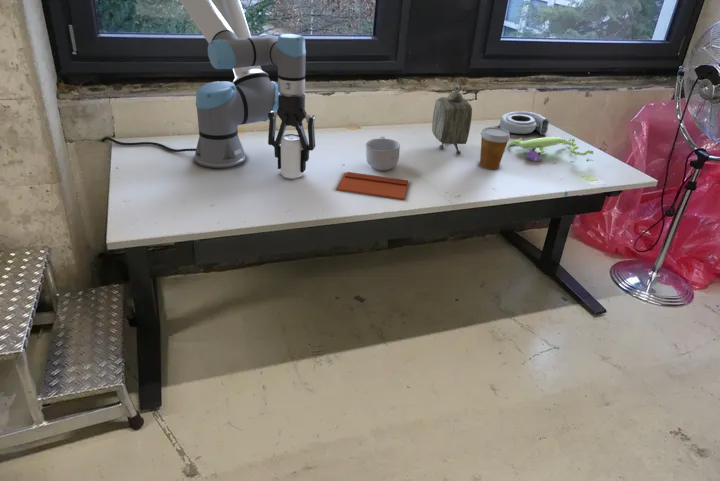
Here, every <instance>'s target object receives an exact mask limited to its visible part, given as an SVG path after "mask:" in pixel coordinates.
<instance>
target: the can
mask: <svg viewBox="0 0 720 481" xmlns="http://www.w3.org/2000/svg"><path fill="white" fill-rule="evenodd" d="M280 146H281V169H280V174H281V176H282V177H283V178H285V179H291V180H293V179H299V178H301V176H302V175H303V172H301V151H302V150H303V147H302V144H301V141H300V138H299V135H298V134H296V133H286V134H284V135H283V136H282V140H281V144H280Z"/></svg>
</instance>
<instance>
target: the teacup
mask: <svg viewBox="0 0 720 481" xmlns="http://www.w3.org/2000/svg"><path fill="white" fill-rule="evenodd" d="M400 148H401V143H400V142H399V141H397V140H395V139H390V138H385V136H380V137H379V138H373V139H370V140H368V141H367V142H366V143H365V159H366V163H367V164H368V165H369V166H370V167H371V168H372V169H374V170H376V171H389V170H391V169H393V168H394V167H395V166H397V165H398V162H399V158H400Z"/></svg>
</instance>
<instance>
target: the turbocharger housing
mask: <svg viewBox="0 0 720 481" xmlns="http://www.w3.org/2000/svg"><path fill="white" fill-rule="evenodd" d="M549 123H550V120H549V119H548V118H546V117H544V116H542V115H541V114H538V113H535V112H531V111H510V112H507V113H504V114H502V116H501V117H500V120H499V128H501V129H505V130H507V131H508V132H509V133H510V134H516V135H527V134H531V133H533V132H534V131H536V132H538V133H539V134H540V135H546V134H547V132H548V129H549V126H550V124H549Z"/></svg>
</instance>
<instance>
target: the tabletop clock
mask: <svg viewBox="0 0 720 481" xmlns="http://www.w3.org/2000/svg"><path fill="white" fill-rule="evenodd" d="M456 82H458V84H459V86H456ZM453 90H454V91H452V92H450V93H449V94H448V96H441V97H439V98H437V99H436V100H435V103H434V109H433V116H432V125H431V131H432V134H433V136H434V137H435V139H436V140H437V141H439V142H440V143H441V144H440V145H439V146H438V149H439V150H441V151H442V150H444V145H453V146H454V147H455V150H456V152H455V153H456V155H457V156H461V154H462V151H461V150H459V146H458V145H466V144H467V142H468V139H469V134H470V130H471V124H472V116H473V107H472V105H471V104H470V102H469V101H468V100H467V99H466V98H465V97H463V94H462V93H461V90H462V81H461V79H460V78H458V77H456V78H455V79H454V80H453Z"/></svg>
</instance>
